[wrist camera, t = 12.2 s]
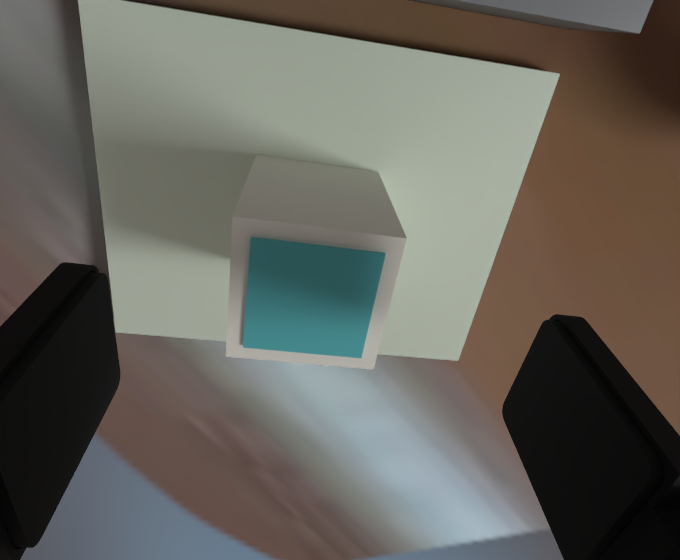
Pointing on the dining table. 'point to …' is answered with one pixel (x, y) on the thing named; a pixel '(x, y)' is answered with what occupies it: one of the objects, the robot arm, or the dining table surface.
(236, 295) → the teal label box
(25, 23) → the dining table surface
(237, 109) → the sage board
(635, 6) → the parts bin
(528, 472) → the robot arm
